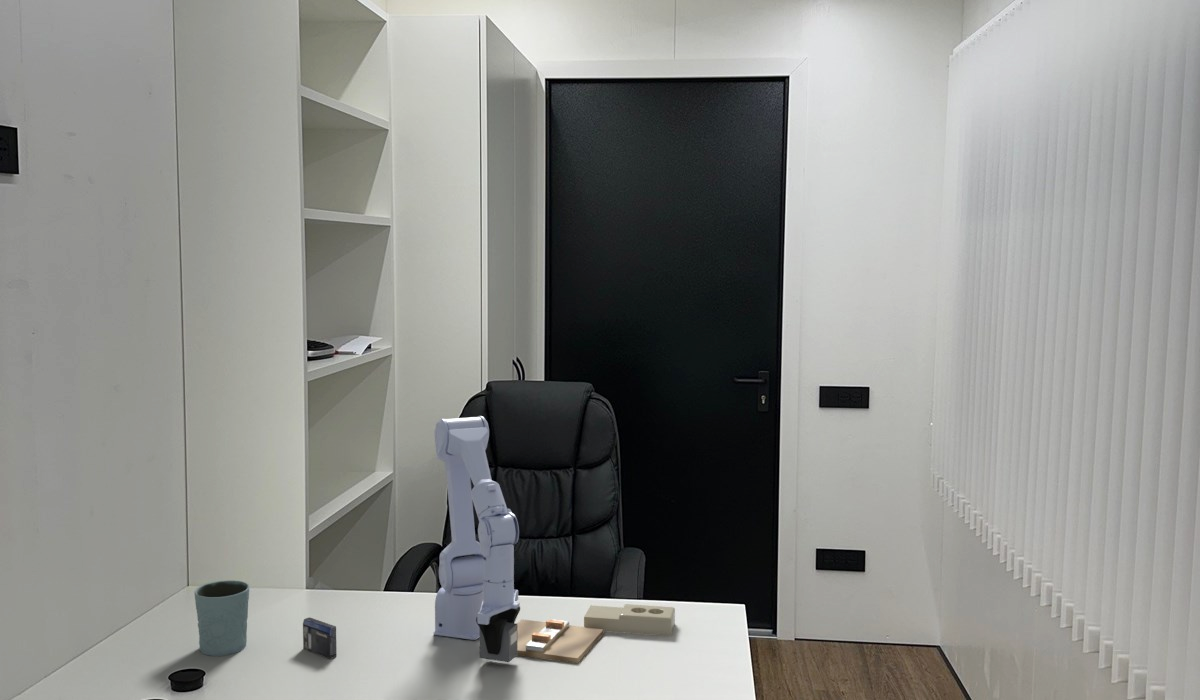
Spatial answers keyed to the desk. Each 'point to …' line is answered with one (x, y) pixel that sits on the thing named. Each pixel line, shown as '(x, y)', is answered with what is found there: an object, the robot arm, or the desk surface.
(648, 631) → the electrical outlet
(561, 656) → the mounting board
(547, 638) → the din rail
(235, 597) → the teal cup
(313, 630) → the mini dv tape
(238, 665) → the desk surface
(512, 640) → the block
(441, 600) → the robot arm
